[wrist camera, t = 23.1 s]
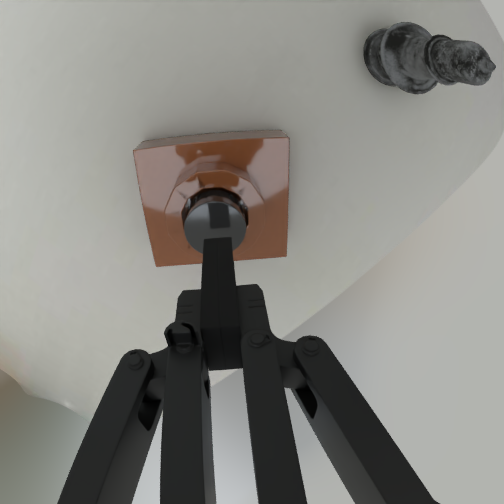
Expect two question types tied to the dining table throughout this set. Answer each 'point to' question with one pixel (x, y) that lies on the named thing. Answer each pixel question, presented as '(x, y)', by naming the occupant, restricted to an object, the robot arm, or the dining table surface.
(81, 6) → the dining table surface
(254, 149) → the brown square base plate
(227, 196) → the button
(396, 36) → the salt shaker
